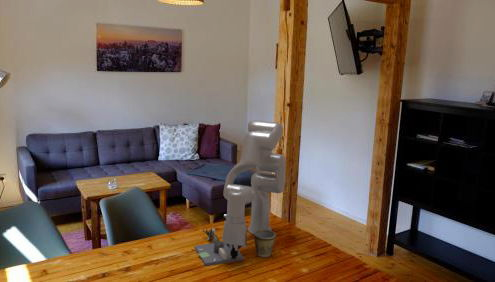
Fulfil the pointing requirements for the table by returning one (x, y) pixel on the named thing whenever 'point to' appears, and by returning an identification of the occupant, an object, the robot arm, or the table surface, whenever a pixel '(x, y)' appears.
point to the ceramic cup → (264, 242)
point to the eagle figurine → (211, 235)
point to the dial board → (215, 254)
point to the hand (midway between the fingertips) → (233, 257)
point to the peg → (220, 249)
